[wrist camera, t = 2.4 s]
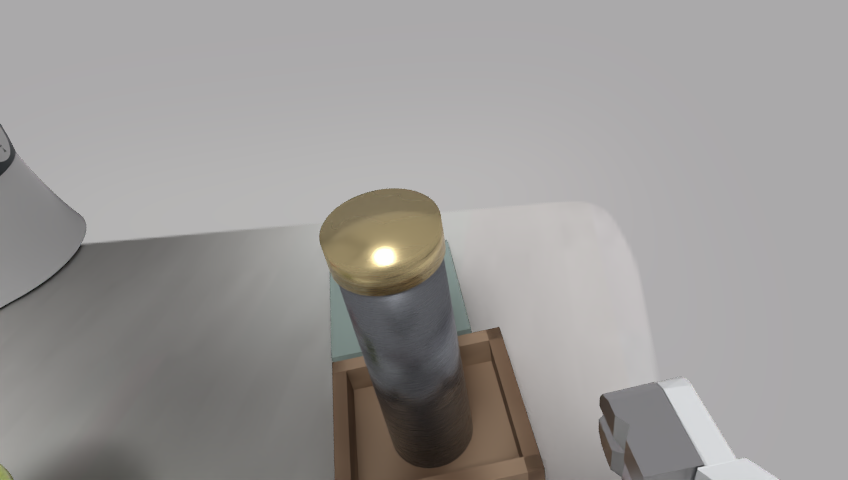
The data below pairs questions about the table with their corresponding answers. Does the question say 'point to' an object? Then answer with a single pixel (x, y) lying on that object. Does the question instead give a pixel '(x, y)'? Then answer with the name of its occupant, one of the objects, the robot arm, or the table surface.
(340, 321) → the mat
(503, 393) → the tray
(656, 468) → the robot arm
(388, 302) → the pepper mill
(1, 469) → the plant pot
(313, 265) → the table surface
